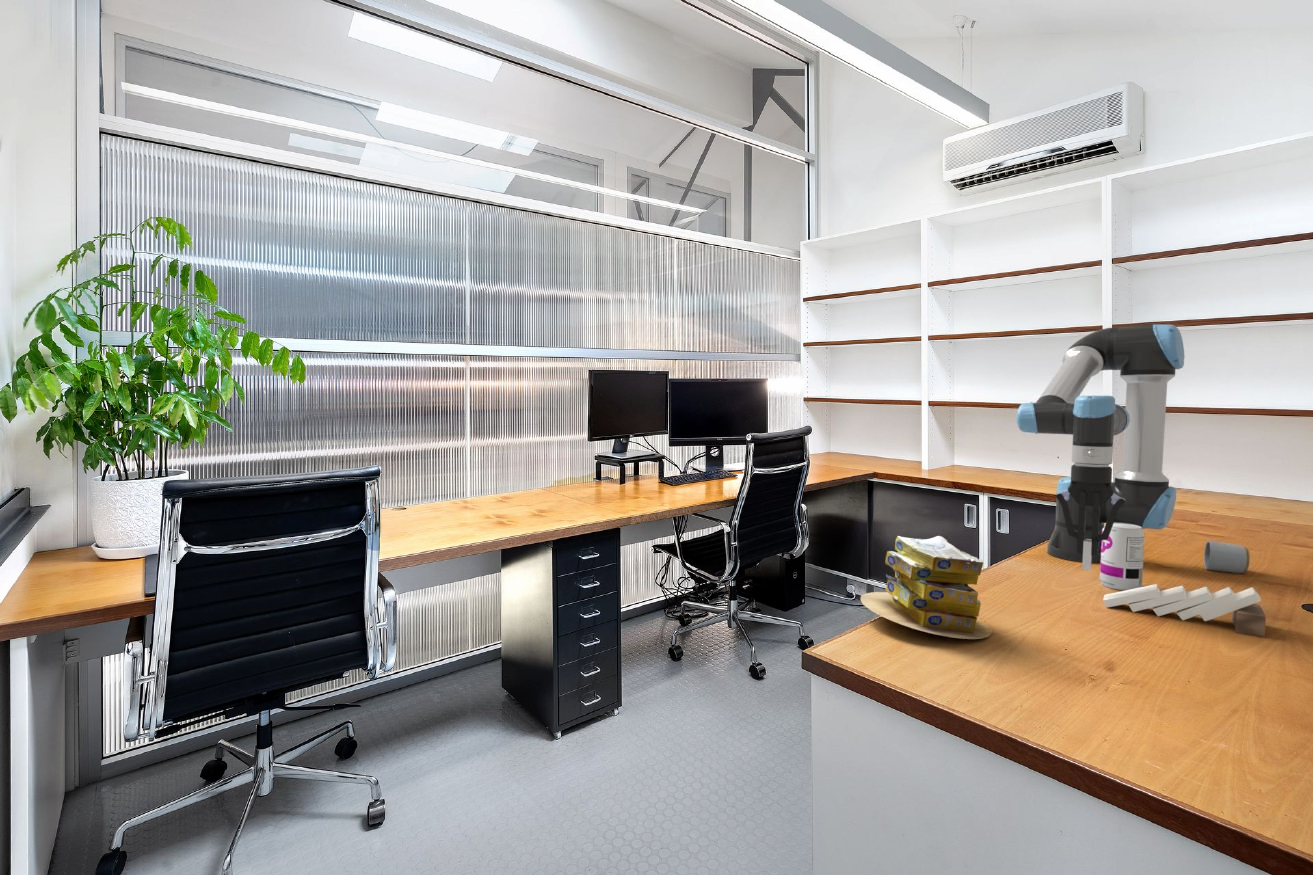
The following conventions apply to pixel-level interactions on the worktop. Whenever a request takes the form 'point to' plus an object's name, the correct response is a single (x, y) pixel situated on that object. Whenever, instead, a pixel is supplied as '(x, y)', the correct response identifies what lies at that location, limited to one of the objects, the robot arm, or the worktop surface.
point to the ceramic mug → (1226, 557)
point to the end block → (1250, 620)
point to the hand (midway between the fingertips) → (1086, 568)
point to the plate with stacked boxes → (931, 589)
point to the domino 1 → (1131, 595)
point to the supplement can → (1122, 557)
